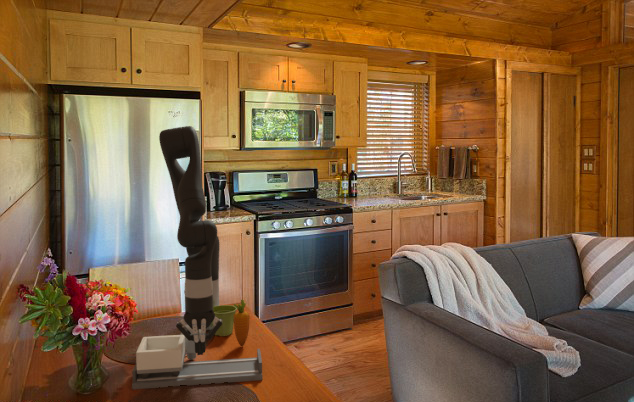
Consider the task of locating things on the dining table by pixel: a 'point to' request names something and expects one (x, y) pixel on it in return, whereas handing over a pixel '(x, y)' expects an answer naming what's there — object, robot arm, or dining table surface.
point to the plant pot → (225, 318)
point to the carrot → (241, 323)
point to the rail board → (204, 373)
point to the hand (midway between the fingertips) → (200, 353)
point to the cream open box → (160, 355)
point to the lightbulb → (191, 345)
